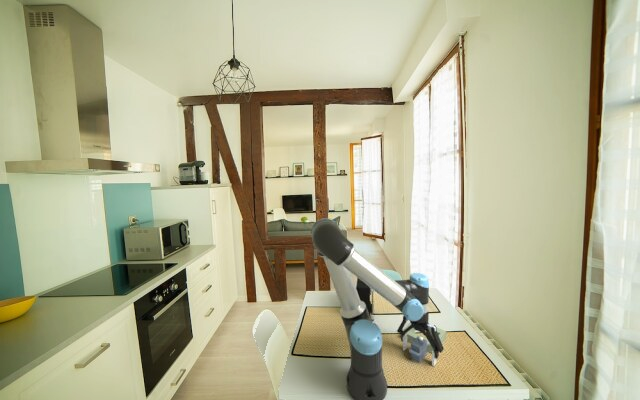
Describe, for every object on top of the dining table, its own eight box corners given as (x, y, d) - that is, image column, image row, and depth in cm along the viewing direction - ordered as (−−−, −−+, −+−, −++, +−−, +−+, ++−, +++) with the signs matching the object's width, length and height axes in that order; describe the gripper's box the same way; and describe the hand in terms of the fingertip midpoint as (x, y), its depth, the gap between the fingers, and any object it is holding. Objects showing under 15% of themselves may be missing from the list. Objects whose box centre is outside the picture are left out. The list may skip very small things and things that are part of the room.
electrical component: (374, 324, 132) (374, 288, 130) (355, 322, 134) (354, 287, 132) (373, 307, 149) (373, 275, 147) (357, 305, 151) (356, 274, 149)
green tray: (433, 354, 108) (433, 346, 108) (402, 338, 119) (402, 331, 119) (446, 338, 119) (446, 331, 118) (416, 325, 130) (416, 319, 129)
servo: (418, 365, 102) (418, 347, 102) (409, 360, 105) (409, 343, 105) (428, 352, 110) (428, 336, 109) (419, 348, 112) (420, 332, 112)
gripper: (452, 317, 99) (452, 366, 101) (397, 297, 117) (397, 339, 119) (445, 325, 94) (445, 376, 96) (389, 303, 112) (389, 346, 114)
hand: (419, 356), depth 107 cm, fingers open, 12 cm apart
